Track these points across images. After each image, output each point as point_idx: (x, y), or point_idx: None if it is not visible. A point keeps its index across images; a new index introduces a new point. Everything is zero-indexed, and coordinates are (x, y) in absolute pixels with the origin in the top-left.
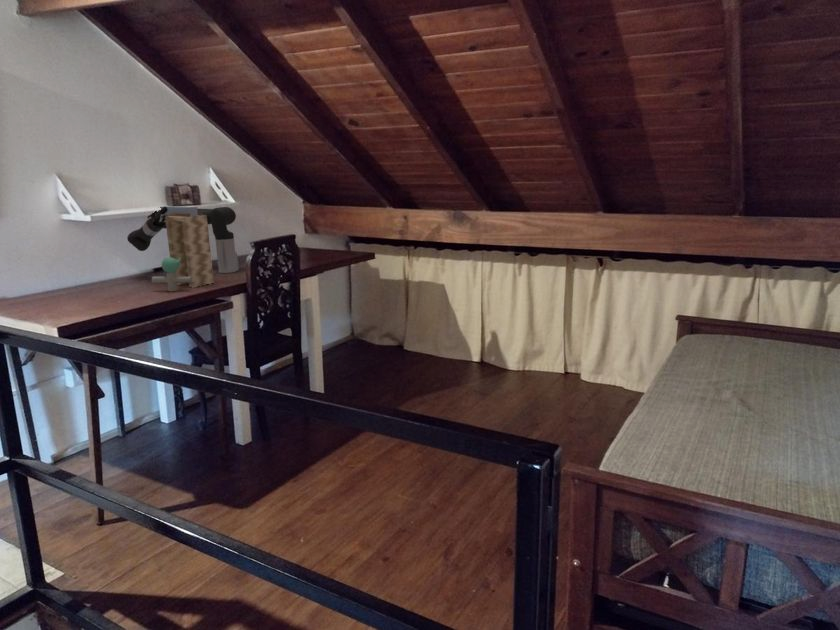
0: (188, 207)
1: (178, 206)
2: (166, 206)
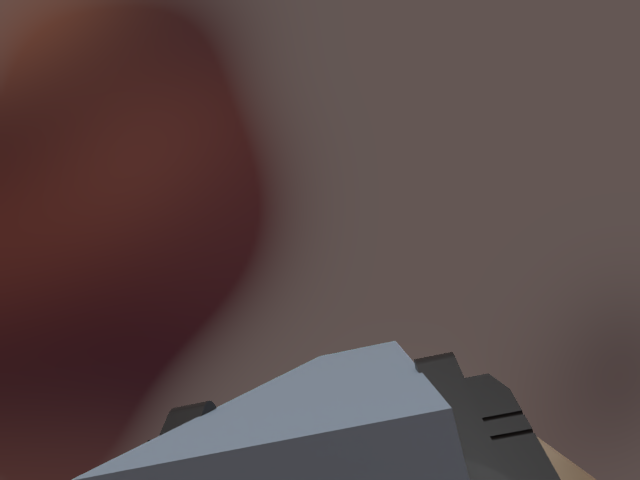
0: (390, 342)
1: (280, 380)
2: (293, 411)
